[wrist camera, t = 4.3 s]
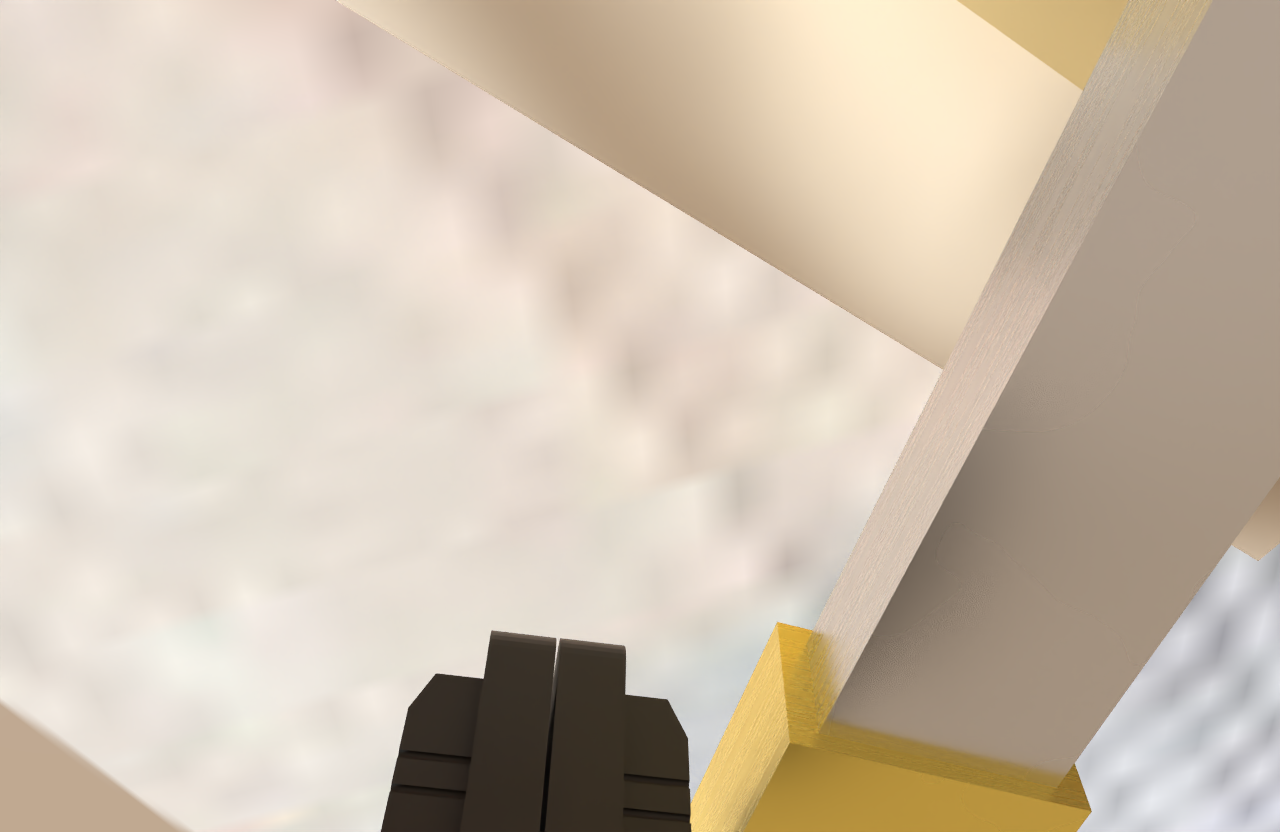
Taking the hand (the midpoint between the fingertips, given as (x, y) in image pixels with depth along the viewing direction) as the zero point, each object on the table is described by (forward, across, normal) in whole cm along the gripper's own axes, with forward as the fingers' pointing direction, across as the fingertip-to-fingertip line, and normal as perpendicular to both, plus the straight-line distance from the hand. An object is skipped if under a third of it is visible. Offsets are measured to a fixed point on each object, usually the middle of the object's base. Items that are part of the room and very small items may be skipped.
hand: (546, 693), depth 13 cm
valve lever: (+1, -4, -3) cm, 5 cm away
